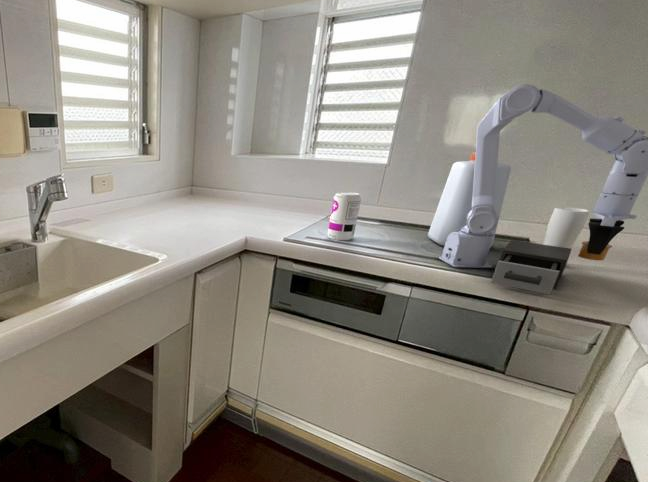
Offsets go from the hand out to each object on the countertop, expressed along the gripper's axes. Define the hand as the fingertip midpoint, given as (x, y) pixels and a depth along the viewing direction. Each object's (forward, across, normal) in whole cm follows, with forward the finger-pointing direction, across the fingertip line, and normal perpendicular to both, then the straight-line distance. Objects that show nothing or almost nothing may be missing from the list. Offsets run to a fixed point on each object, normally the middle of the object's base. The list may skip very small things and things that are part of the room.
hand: (593, 251), depth 96 cm
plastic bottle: (+8, +20, +29) cm, 36 cm away
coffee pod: (+2, 0, 0) cm, 2 cm away
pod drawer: (+7, -17, +10) cm, 20 cm away
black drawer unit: (+8, -5, +10) cm, 13 cm away
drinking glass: (+8, +13, +6) cm, 16 cm away
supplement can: (+8, -1, +59) cm, 59 cm away
